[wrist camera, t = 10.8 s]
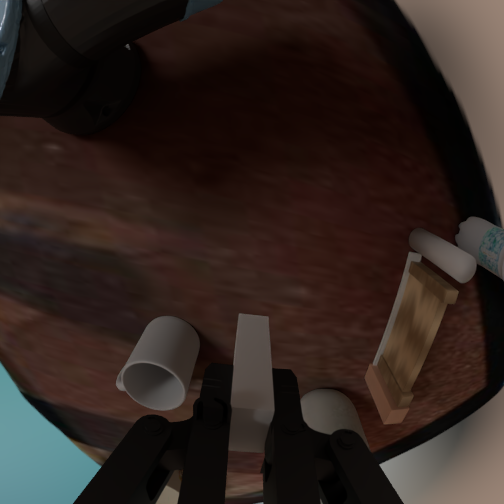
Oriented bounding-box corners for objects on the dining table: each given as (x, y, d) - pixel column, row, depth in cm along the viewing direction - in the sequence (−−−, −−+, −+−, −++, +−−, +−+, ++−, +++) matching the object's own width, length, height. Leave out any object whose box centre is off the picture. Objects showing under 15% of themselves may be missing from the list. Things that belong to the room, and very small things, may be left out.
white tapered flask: (360, 387, 47) (410, 528, 20) (324, 423, 50) (350, 557, 23) (314, 368, 46) (349, 532, 19) (278, 408, 48) (288, 558, 22)
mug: (181, 306, 43) (160, 352, 32) (210, 352, 45) (200, 403, 34) (118, 333, 44) (89, 375, 34) (148, 373, 47) (128, 420, 36)
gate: (411, 260, 39) (447, 290, 29) (421, 262, 39) (458, 291, 29) (376, 364, 44) (397, 407, 35) (386, 364, 44) (408, 406, 35)
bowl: (185, 483, 58) (179, 516, 48) (121, 462, 56) (110, 494, 47) (200, 453, 53) (194, 492, 44) (125, 429, 52) (111, 465, 42)
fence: (411, 226, 38) (460, 253, 27) (429, 229, 39) (479, 256, 27) (363, 377, 46) (384, 429, 35) (380, 377, 46) (403, 427, 35)
